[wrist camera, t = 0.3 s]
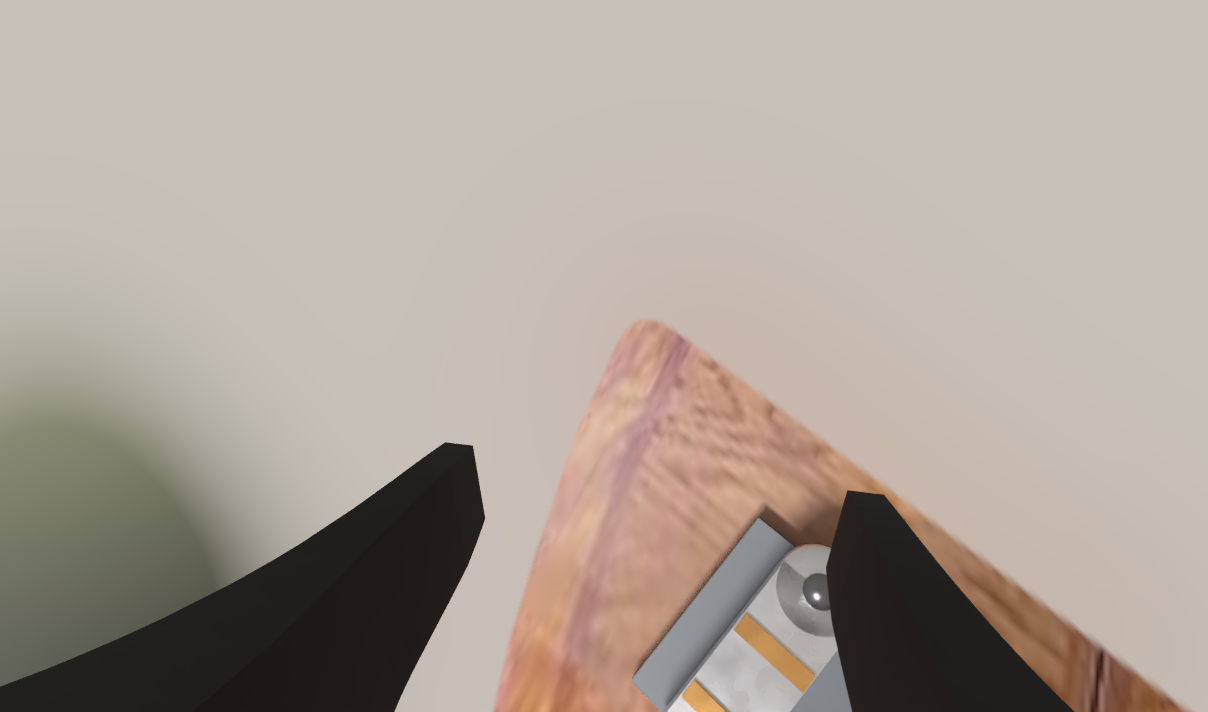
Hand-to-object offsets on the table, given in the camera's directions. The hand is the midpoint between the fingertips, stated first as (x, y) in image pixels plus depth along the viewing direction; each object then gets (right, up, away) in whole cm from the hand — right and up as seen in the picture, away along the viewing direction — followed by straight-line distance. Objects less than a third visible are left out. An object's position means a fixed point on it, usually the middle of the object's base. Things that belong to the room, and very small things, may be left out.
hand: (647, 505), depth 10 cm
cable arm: (+9, -15, +22) cm, 29 cm away
